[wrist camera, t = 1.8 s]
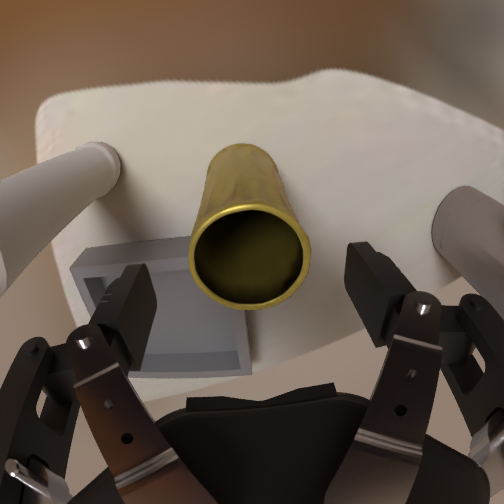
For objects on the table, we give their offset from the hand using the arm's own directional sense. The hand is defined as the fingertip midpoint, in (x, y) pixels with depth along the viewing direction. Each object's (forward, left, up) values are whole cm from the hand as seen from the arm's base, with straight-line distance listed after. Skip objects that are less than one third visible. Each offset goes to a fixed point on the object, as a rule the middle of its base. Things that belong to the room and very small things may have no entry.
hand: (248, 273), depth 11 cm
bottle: (+13, -3, -15) cm, 20 cm away
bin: (+9, +13, -15) cm, 22 cm away
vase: (0, 0, -15) cm, 15 cm away
